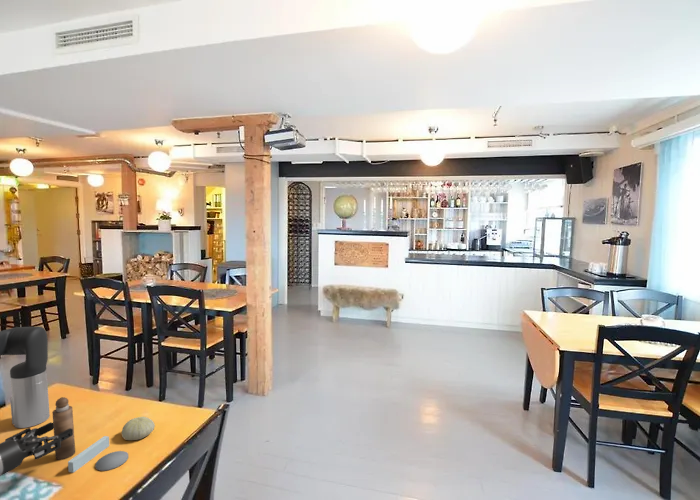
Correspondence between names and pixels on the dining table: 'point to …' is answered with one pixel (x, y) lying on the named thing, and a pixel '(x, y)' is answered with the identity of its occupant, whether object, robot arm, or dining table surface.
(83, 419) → the dining table surface
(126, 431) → the sea urchin shell
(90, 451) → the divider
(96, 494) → the dining table surface
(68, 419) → the pepper mill
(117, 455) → the gray pad
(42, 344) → the robot arm
